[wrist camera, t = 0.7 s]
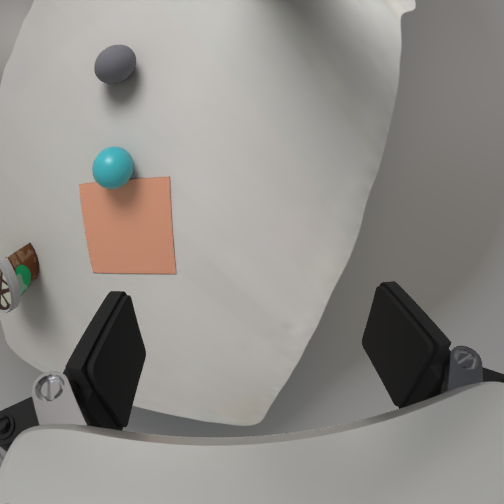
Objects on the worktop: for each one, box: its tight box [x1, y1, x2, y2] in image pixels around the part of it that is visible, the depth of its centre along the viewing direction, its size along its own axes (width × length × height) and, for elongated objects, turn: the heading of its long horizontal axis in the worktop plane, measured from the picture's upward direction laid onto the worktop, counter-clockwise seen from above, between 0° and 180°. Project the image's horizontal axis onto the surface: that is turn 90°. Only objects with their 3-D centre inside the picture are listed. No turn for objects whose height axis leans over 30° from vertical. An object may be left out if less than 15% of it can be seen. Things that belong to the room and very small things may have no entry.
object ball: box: [92, 147, 134, 189], centre depth 30 cm, size 6×6×6 cm
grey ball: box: [95, 45, 136, 84], centre depth 25 cm, size 6×6×6 cm
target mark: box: [79, 177, 176, 274], centre depth 36 cm, size 14×14×1 cm
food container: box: [0, 243, 39, 313], centre depth 32 cm, size 12×6×10 cm, turn 125°
